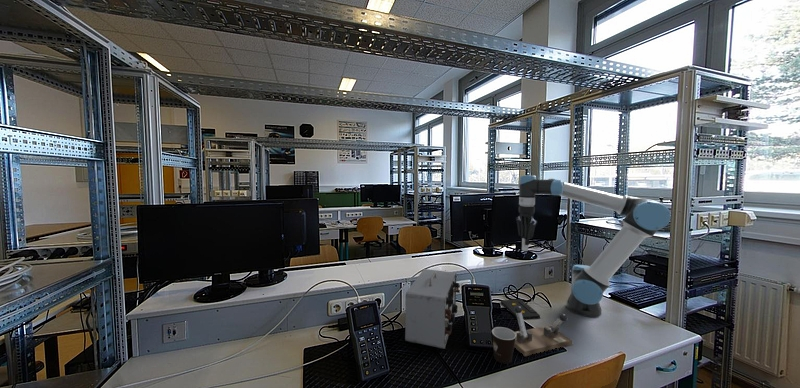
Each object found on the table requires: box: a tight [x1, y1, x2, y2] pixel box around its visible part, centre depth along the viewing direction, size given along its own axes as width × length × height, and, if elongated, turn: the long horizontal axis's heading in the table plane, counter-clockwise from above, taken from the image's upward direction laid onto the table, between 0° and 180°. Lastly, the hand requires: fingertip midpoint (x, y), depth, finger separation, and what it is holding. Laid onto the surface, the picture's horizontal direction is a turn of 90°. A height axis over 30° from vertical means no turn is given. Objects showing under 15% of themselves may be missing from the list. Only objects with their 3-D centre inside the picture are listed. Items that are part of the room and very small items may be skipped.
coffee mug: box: [490, 326, 516, 365], centre depth 110 cm, size 12×9×10 cm
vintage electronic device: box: [404, 268, 461, 350], centre depth 128 cm, size 32×18×25 cm, turn 161°
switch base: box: [513, 324, 573, 357], centre depth 119 cm, size 24×12×5 cm, turn 108°
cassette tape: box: [500, 298, 541, 320], centre depth 146 cm, size 18×12×2 cm, turn 7°
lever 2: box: [549, 313, 568, 333], centre depth 118 cm, size 3×3×12 cm
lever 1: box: [514, 306, 528, 339], centre depth 118 cm, size 3×3×12 cm
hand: (524, 250), depth 147 cm, fingers closed
